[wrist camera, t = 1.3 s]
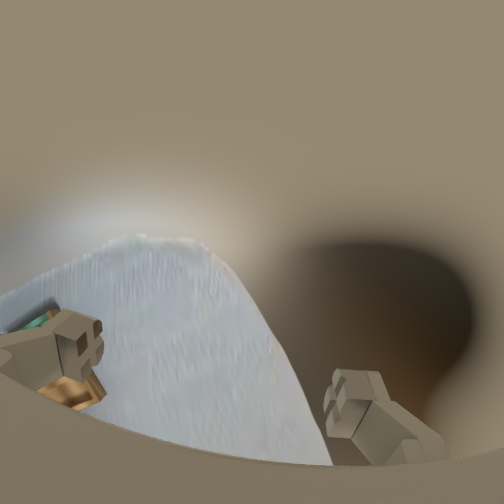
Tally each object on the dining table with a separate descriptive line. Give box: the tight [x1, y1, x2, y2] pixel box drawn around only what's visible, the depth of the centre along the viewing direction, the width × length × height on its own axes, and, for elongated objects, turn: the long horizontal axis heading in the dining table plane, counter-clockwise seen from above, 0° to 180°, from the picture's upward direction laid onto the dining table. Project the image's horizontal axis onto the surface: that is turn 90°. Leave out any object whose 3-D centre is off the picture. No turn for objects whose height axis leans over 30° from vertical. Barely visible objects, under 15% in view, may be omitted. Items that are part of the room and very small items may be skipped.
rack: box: [18, 308, 107, 411], centre depth 50 cm, size 16×19×4 cm
